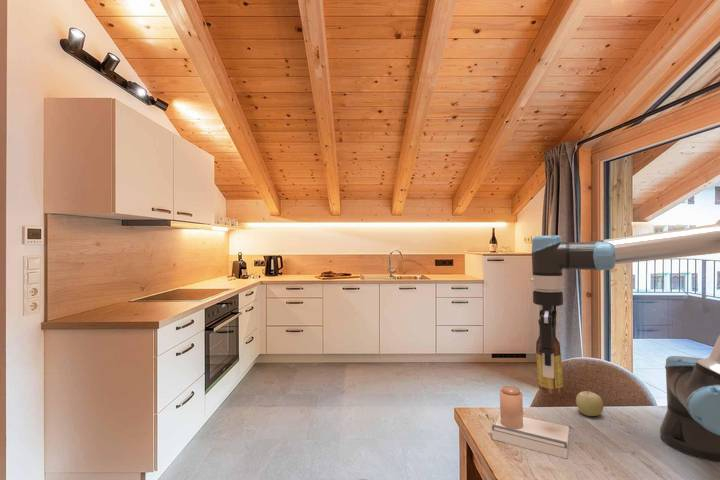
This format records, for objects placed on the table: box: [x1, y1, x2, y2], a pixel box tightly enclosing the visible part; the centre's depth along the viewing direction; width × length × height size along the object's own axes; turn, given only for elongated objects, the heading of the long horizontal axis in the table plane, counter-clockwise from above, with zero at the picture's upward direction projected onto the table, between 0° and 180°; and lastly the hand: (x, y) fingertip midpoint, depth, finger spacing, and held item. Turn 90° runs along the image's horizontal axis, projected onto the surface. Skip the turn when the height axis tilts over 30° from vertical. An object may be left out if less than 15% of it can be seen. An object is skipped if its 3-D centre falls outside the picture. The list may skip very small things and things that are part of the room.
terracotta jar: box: [499, 385, 524, 429], centre depth 102 cm, size 6×6×10 cm
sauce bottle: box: [535, 318, 564, 395], centre depth 99 cm, size 7×6×20 cm
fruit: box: [575, 389, 604, 417], centre depth 113 cm, size 8×7×8 cm
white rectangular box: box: [491, 415, 570, 459], centre depth 100 cm, size 18×13×4 cm
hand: (549, 373), depth 99 cm, fingers closed on sauce bottle, 6 cm apart
